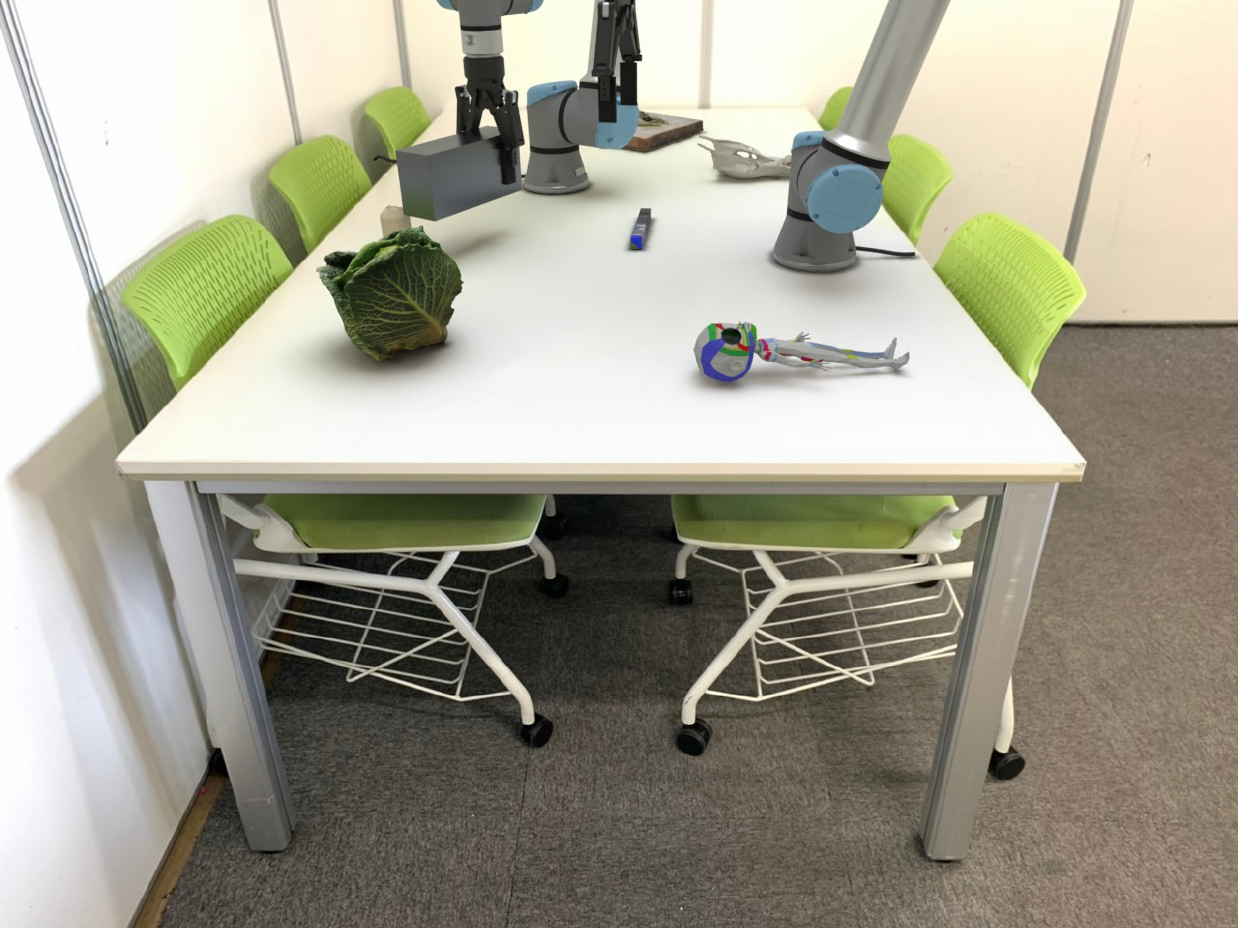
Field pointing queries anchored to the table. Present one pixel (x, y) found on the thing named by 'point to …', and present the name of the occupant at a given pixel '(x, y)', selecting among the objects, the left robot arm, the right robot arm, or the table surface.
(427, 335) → the vegetable
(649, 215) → the pillar
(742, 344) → the toy
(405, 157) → the box
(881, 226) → the table surface
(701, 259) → the table surface
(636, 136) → the plaque
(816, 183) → the right robot arm
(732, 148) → the anatomical model
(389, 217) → the candle
